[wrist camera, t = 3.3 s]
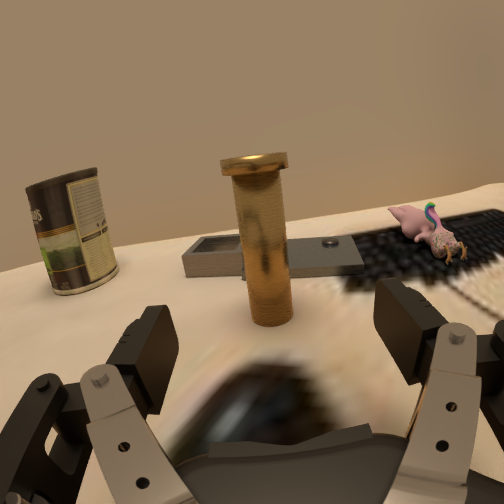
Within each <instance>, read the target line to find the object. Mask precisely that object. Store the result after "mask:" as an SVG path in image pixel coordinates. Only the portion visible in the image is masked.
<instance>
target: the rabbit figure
mask: <svg viewBox="0 0 504 504" xmlns="http://www.w3.org/2000/svg"><path fill="white" fill-rule="evenodd" d="M434 207H435V204H434V203H432V202H429V203H428V204H427V205H426V207H425V212H424V211H422V210H420V209H416V208H414V207H412V206H409V205H405V206H401V207H398V208H396V207H389V208H388V210H390V212H391V213H392V214H393V216H394V217H395V218H396V219H397V220H398V221H399V222H400V223H401V227H402V232H403V233H404V235H405V236H406V237H408V238H409V239H414V241H415V242H416V243H417V242H420V241H423V240H424V241H425V242H426V243H427V244H428V245H429V246H431V250H432V253H433V255H434V256H435V257H436V258H439V259H441V258H444V257H445V256H446V254H447V255H448V256H447V257H448V258H447V259H446V263H447V265H448V262H449V261H450V260H451V256H454V255H455V254H456V253H457V251H458V250H459V248H460V247H461V248H462V250H463V255H462V257H461V259H462V258H464V257H465V258H466V248H467V247H466V248H465V249H464V247H463V244H462V242H457V241H456V240H455V238H454V236H453V233H452V232H449V231H447V230H445V229H444V228H443V227H442V225H441V222H440V219H439V217H438V215H437V214H436V212H435V210H434ZM433 223H434V224H435V225H436V229H435V231H434V224H433ZM466 259H467V258H466ZM447 261H448V262H447ZM451 261H452V260H451ZM463 261H464V260H463Z"/></svg>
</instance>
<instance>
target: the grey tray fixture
mask: <svg viewBox="0 0 504 504" xmlns="http://www.w3.org/2000/svg"><path fill="white" fill-rule="evenodd" d="M287 248H288V259H289V271H290V278H300V277H318V276H335V275H351V274H364V263H363V260H362V258H361V256H360V254H359V252H358V249H357V247H356V245H355V243H354V241H353V239H352V237H351V235H349V236H333V237H316V238H300V239H287ZM182 261H183V265H184V270H185V274H186V277H207V276H233V275H242V280H246V275H245V268H244V261H243V254H242V247H241V241H240V234H231V235H218V236H206V237H201V238H199V239H198V240H197V241H196V242H195V243H194V244H193V245H192V246H191V247H190V248H189V249H188V250H187V251H186V252H185V253H184V254H183V255H182Z"/></svg>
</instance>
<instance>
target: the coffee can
mask: <svg viewBox="0 0 504 504" xmlns="http://www.w3.org/2000/svg"><path fill="white" fill-rule="evenodd" d="M26 194H27V196H28V200H29V205H30V210H31V214H32V219H33V223H34V227H35V231H36V235H37V239H38V242H39V245H40V249H41V252H42V256H43V259H44V262H45V266H46V269H47V272H48V275H49V278H50V281H51V284H52V287H53V291H54V292H55V293H56V294H59V295H73V294H79V293H82V292H86V291H89V290H91V289H94V288H96V287H98V286H100V285H102V284H104V283H106V282H107V281H109V280H110V279H112V278H113V277H114V276H115V275H116V274H117V272H118V270H119V267H118V265H117V262H116V259H115V255H114V251H113V247H112V243H111V240H110V235H109V231H108V227H107V223H106V218H105V214H104V209H103V204H102V199H101V194H100V188H99V183H98V177H97V168H89V169H84V170H80V171H76V172H72V173H68V174H65V175H61V176H58V177H55V178H51V179H48V180H45V181H42V182H39V183H37V184H34V185H31V186H29V187H27V188H26Z"/></svg>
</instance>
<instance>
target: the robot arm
mask: <svg viewBox="0 0 504 504" xmlns="http://www.w3.org/2000/svg"><path fill="white" fill-rule="evenodd" d="M373 319H374V325H375V328H376V331H377V332H378V334H379V336H380V337H381V339H382V341H383V342H384V344H385V346H386V347H387V349H388V351H389V352H390V354H391V356H392V357H393V359H394V361H395V363H396V364H397V366H398V368H399V370H400V371H401V373H402V375H403V377H404V378H405V380H406V382H407V384H408V385H409V386H410V385H413V384H416V383H419V382H420V383H421V385H422V388H421V391H420V394H419V397H418V400H417V404H416V407H415V410H414V413H413V416H412V419H411V421H410V424H409V427H408V430H407V432H406V435H405V437H404V438H403V437H400V436H396V435H391V434H384V433H372V431H371V428H370V425H369V423H367V424H363V425H359V426H354V427H350V428H345V429H340V430H335V431H331V432H328V433H326V434H323V435H321V436H318V437H315V438H313V439H310V440H307V441H305V442H302V443H299V444H296V445H292V446H284V445H274V444H265V443H257V442H250V441H246V442H216V443H210V446H209V453H207V454H203V455H199V456H196V457H193V458H191V459H188V460H186V461H184V462H182V463H180V464H179V465H177V466H176V467H175V466H174V465H173V464H172V462H171V461H170V459H169V458H168V456H167V455H166V453H165V452H164V450H163V448H162V447H161V445H160V444H159V442H158V440H157V439H156V437H155V436H154V434H153V432H152V431H151V429H150V427H149V425H148V424H147V422H146V418H147V415H148V414H154V415H160V411H161V408H162V404H163V401H164V398H165V394H166V391H167V388H168V384H169V381H170V378H171V375H172V371H173V368H174V365H175V362H176V359H177V355H178V351H179V343H178V338H177V334H176V331H175V328H174V325H173V321H172V318H171V315H170V311H169V308H168V307H167V305H157V306H147V307H146V309H145V310H144V312H143V314H142V316H141V317H140V319H136V320H135V321H134V322H132V323H131V324H130V325H129V326H128V327H127V328H126V330H125V331H124V333H123V336H122V337H121V338H120V340H119V341H118V342H119V343H117V345H116V346H115V348H114V350H113V351H112V353H111V355H110V357H109V358H108V360H107V362H106V364H101V365H97V366H95V367H93V368H91V369H89V370H88V371H87V372H85V373H84V375H83V376H82V378H81V380H80V382H78V383H72V384H66V385H63V383H62V381H61V380H60V378H59V377H58V376H57V375H56V374H52V373H48V374H44V375H41V376H39V377H37V378H36V379H35V380H34V381H33V382H32V383H31V384H30V385H29V387H28V389H27V390H26V392H25V393H24V395H23V396H22V398H21V400H20V401H19V403H18V404H17V406H16V408H15V409H14V411H13V413H12V414H11V416H10V418H9V419H8V421H7V423H6V425H5V426H4V428H3V430H2V432H1V433H0V504H76V500H77V497H78V493H79V490H80V487H81V483H82V480H83V477H84V474H85V470H86V467H87V464H88V461H89V458H90V455H91V452H92V449H94V452H95V454H96V457H97V460H98V462H99V465H100V468H101V470H102V473H103V475H104V478H105V480H106V482H107V485H108V487H109V489H110V492H111V494H112V496H113V498H114V500H115V502H116V504H504V483H502V482H499V481H497V480H494V479H492V478H489V477H487V476H484V475H482V474H480V473H477V472H475V471H473V470H471V469H469V466H470V462H471V457H472V453H473V448H474V442H475V436H476V430H477V423H478V415H479V407H480V409H481V411H482V412H483V414H484V416H485V418H486V419H487V421H488V423H489V425H490V427H491V428H492V430H493V432H494V434H495V436H496V438H497V440H498V442H499V444H500V446H501V448H502V450H503V452H504V320H501V321H499V322H497V324H496V325H495V328H494V331H493V334H489V335H476V333H475V332H474V330H473V329H471V328H470V327H469V326H467V325H464V324H461V323H449V322H448V321H447V320H446V319H445V318H444V317H443V316H442V315H441V314H440V313H439V312H438V311H437V310H436V309H435V308H434V306H432V304H431V303H430V302H429V301H426V298H425V297H424V296H423V295H422V294H421V293H420V292H418V291H416V290H414V289H412V288H410V287H406V286H405V285H404V284H403V283H402V282H401V281H400V280H399V279H398V278H396V277H393V278H387V279H380V280H378V281H377V282H376V288H375V302H374V314H373ZM52 427H53V428H54V429H55V431H56V432H57V433H58V435H57V437H56V439H55V442H54V444H53V446H52V448H51V451H50V453H49V456H48V455H47V454H46V451H45V441H46V439H47V436H48V434H49V432H50V430H51V428H52Z"/></svg>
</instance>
